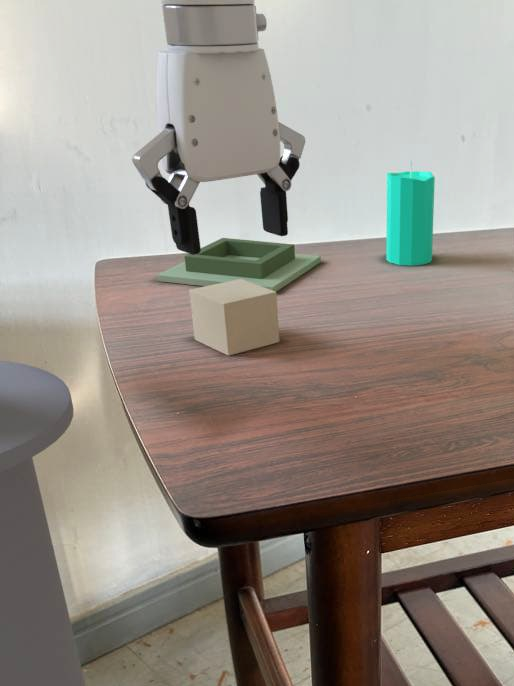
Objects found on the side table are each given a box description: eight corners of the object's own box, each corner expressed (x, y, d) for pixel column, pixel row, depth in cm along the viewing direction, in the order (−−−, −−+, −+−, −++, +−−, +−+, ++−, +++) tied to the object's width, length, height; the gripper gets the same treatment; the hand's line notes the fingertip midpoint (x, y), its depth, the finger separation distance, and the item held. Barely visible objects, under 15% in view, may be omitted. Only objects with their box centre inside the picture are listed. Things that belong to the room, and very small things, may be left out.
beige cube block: (228, 355, 83) (223, 303, 80) (194, 339, 86) (188, 289, 84) (279, 342, 86) (276, 291, 84) (244, 327, 90) (241, 278, 87)
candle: (387, 265, 112) (388, 164, 105) (385, 253, 117) (385, 157, 110) (434, 265, 112) (438, 165, 106) (429, 253, 117) (432, 157, 111)
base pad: (273, 293, 100) (272, 271, 99) (157, 281, 104) (154, 259, 102) (321, 262, 112) (320, 241, 111) (215, 252, 116) (213, 231, 115)
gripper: (269, 26, 80) (284, 221, 89) (93, 33, 70) (130, 251, 79) (321, 29, 75) (330, 234, 84) (140, 36, 65) (173, 267, 74)
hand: (233, 242), depth 82 cm, fingers open, 9 cm apart
